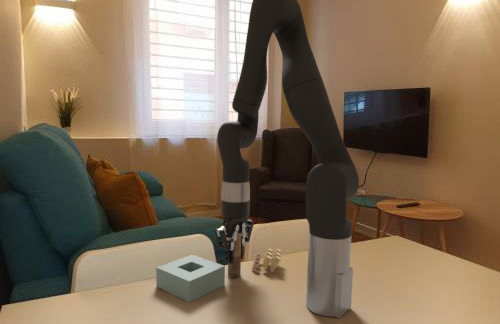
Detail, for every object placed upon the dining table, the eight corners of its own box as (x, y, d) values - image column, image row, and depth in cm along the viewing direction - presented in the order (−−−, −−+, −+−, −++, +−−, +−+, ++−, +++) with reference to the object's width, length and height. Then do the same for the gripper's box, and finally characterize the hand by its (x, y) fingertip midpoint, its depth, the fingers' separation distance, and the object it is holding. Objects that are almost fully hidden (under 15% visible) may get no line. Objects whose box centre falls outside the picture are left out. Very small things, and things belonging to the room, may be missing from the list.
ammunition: (281, 248, 110) (254, 246, 111) (280, 257, 103) (251, 255, 104) (281, 263, 111) (254, 262, 112) (280, 274, 104) (251, 272, 105)
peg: (242, 275, 102) (243, 232, 101) (234, 279, 99) (235, 235, 98) (233, 271, 104) (234, 229, 103) (225, 275, 102) (225, 232, 100)
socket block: (224, 284, 96) (224, 266, 95) (189, 302, 87) (189, 281, 86) (192, 272, 103) (192, 254, 103) (156, 286, 94) (156, 267, 93)
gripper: (228, 204, 92) (227, 272, 94) (263, 196, 103) (261, 257, 105) (206, 199, 96) (205, 264, 98) (241, 192, 107) (240, 250, 109)
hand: (234, 260), depth 101 cm, fingers closed on peg, 3 cm apart
